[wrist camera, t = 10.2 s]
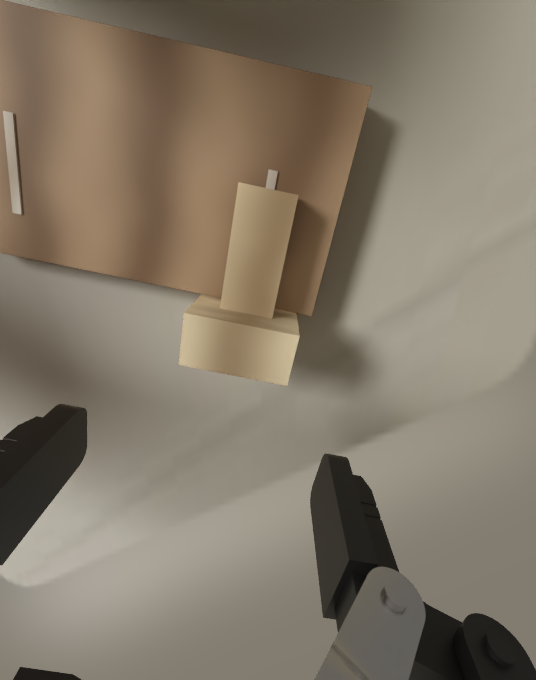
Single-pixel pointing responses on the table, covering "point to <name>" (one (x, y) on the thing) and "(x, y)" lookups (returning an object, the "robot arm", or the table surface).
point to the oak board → (162, 152)
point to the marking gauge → (248, 297)
